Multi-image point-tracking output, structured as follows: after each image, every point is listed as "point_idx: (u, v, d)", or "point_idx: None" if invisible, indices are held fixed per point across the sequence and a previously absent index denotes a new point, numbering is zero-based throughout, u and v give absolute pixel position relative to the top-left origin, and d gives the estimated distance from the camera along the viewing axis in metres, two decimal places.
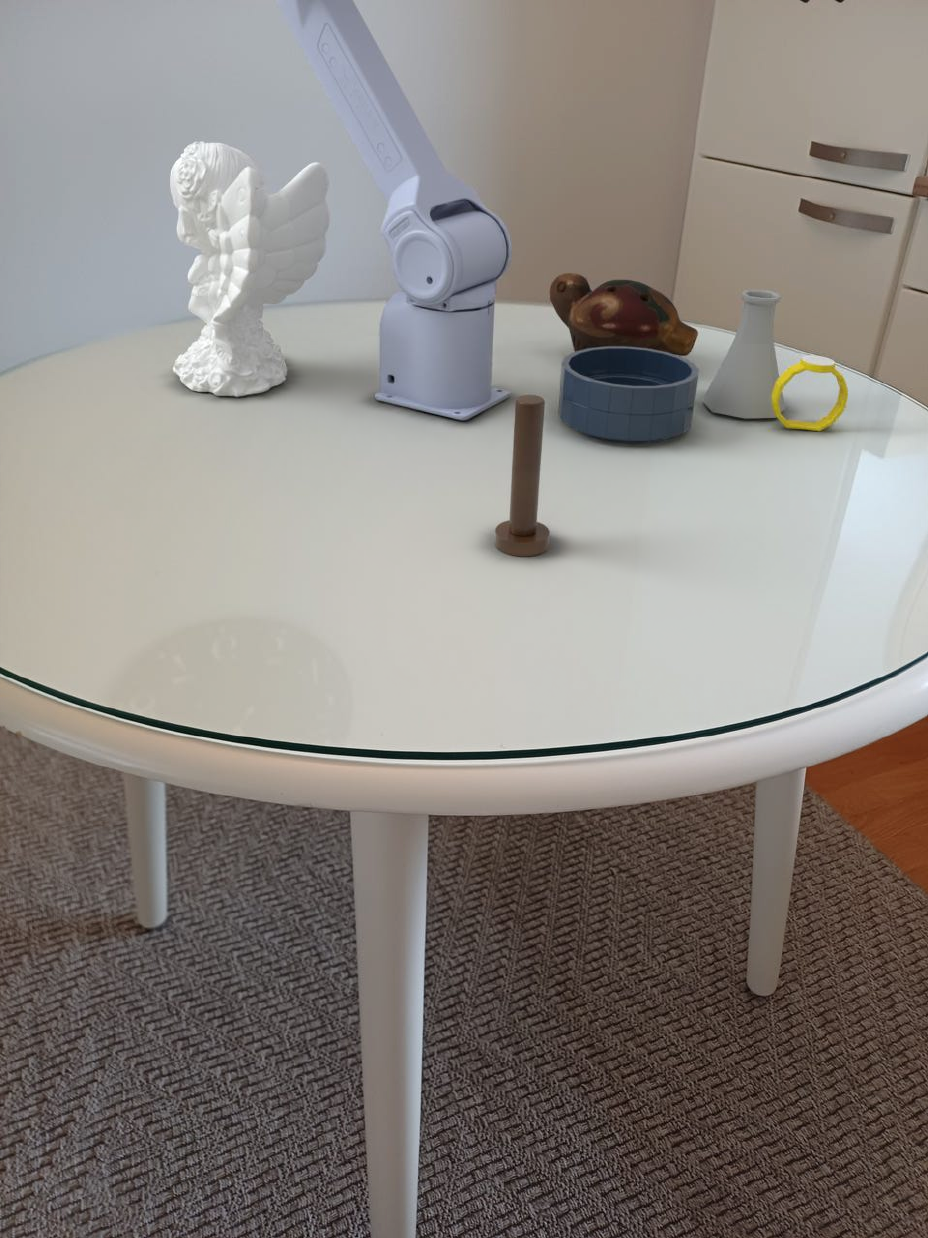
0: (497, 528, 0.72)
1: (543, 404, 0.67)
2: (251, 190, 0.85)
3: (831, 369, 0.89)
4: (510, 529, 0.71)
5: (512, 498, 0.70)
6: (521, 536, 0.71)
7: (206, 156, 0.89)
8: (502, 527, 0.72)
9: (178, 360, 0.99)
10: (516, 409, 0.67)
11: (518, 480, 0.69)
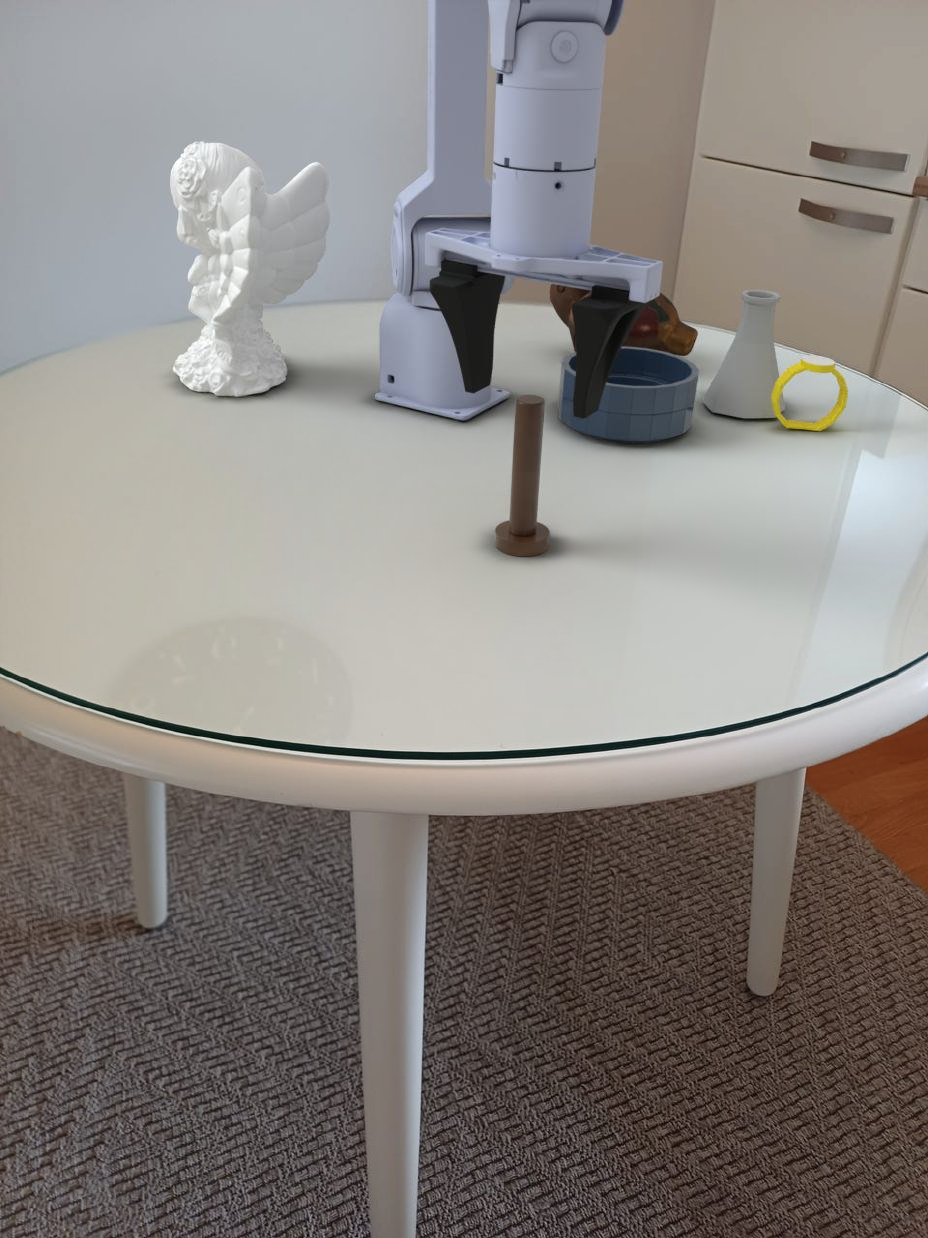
0: (497, 528, 0.72)
1: (543, 404, 0.67)
2: (251, 190, 0.85)
3: (831, 369, 0.89)
4: (510, 529, 0.71)
5: (512, 498, 0.70)
6: (521, 536, 0.71)
7: (206, 156, 0.89)
8: (502, 527, 0.72)
9: (178, 360, 0.99)
10: (516, 409, 0.67)
11: (518, 480, 0.69)
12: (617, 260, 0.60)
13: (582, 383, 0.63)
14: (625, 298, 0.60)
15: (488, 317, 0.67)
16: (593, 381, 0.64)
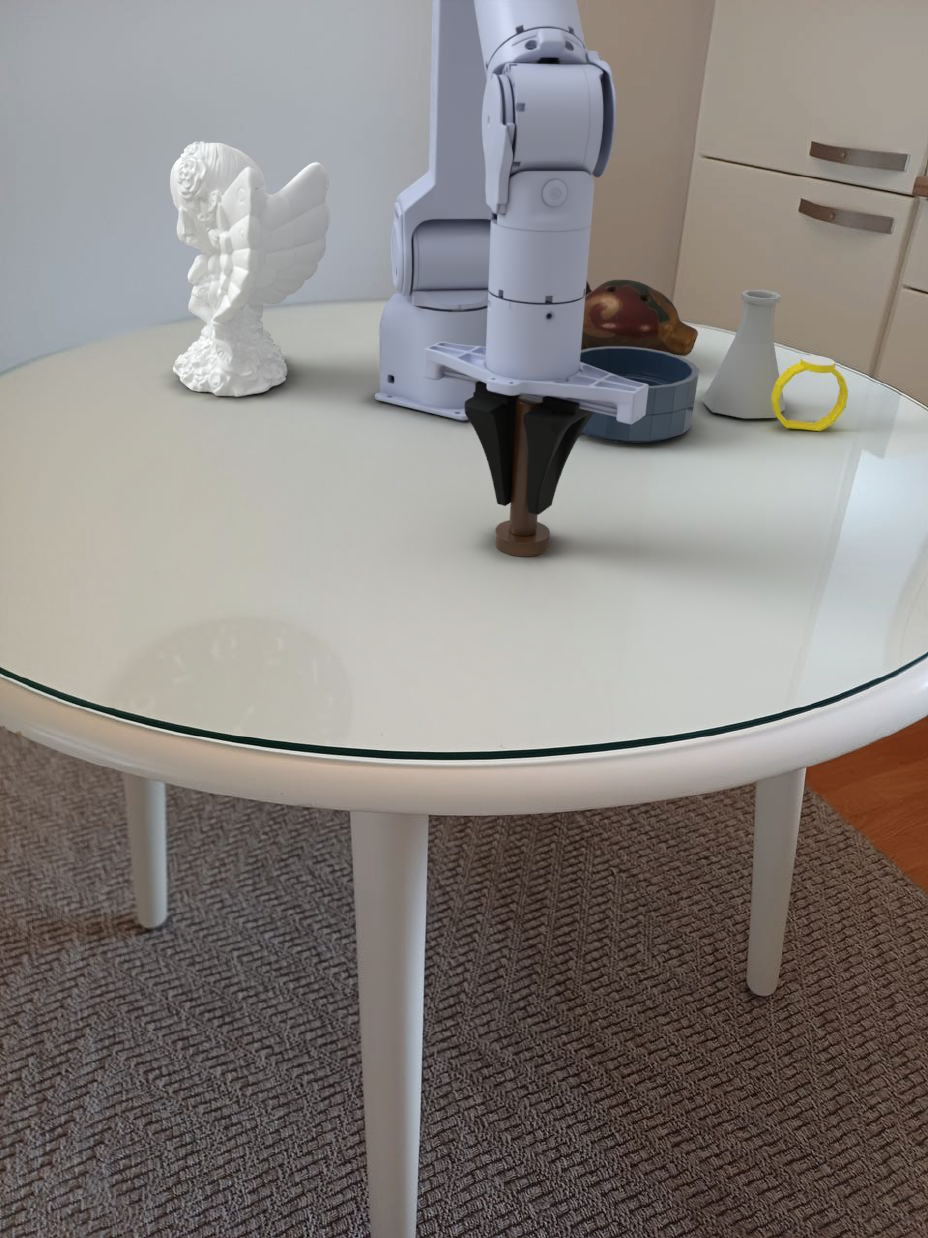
0: (497, 528, 0.72)
1: None
2: (251, 190, 0.85)
3: (831, 369, 0.89)
4: (510, 529, 0.71)
5: (512, 498, 0.70)
6: (521, 536, 0.71)
7: (206, 156, 0.89)
8: (502, 527, 0.72)
9: (178, 360, 0.99)
10: (516, 409, 0.67)
11: (518, 480, 0.69)
12: (605, 383, 0.64)
13: (535, 484, 0.68)
14: (572, 410, 0.65)
15: None
16: (546, 481, 0.68)
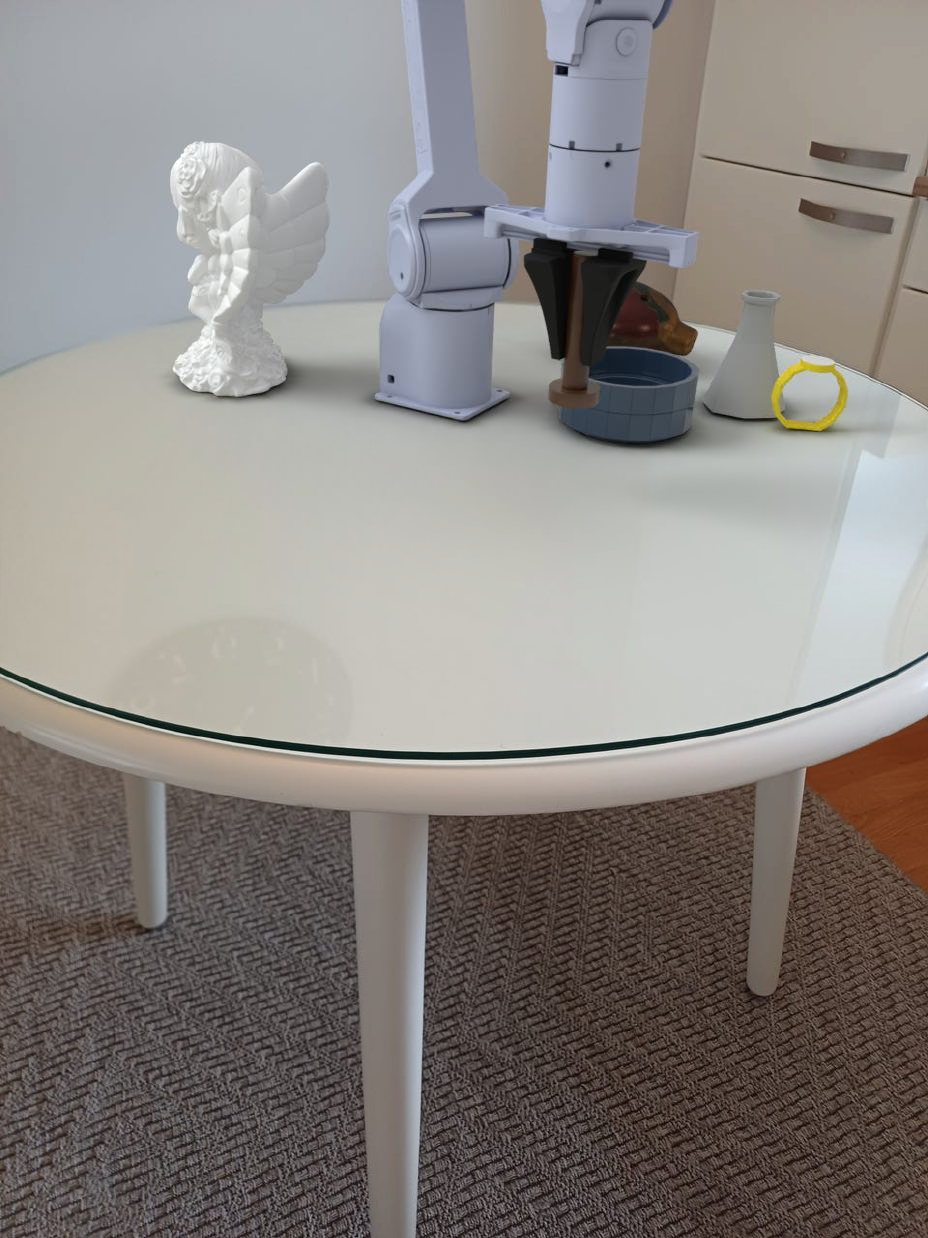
0: (551, 384, 0.76)
1: None
2: (251, 190, 0.85)
3: (831, 369, 0.89)
4: (563, 384, 0.75)
5: (566, 352, 0.74)
6: (574, 390, 0.75)
7: (206, 156, 0.89)
8: (555, 383, 0.76)
9: (178, 360, 0.99)
10: (572, 262, 0.71)
11: (573, 333, 0.73)
12: (658, 231, 0.68)
13: (589, 334, 0.72)
14: (627, 258, 0.69)
15: None
16: (599, 333, 0.73)
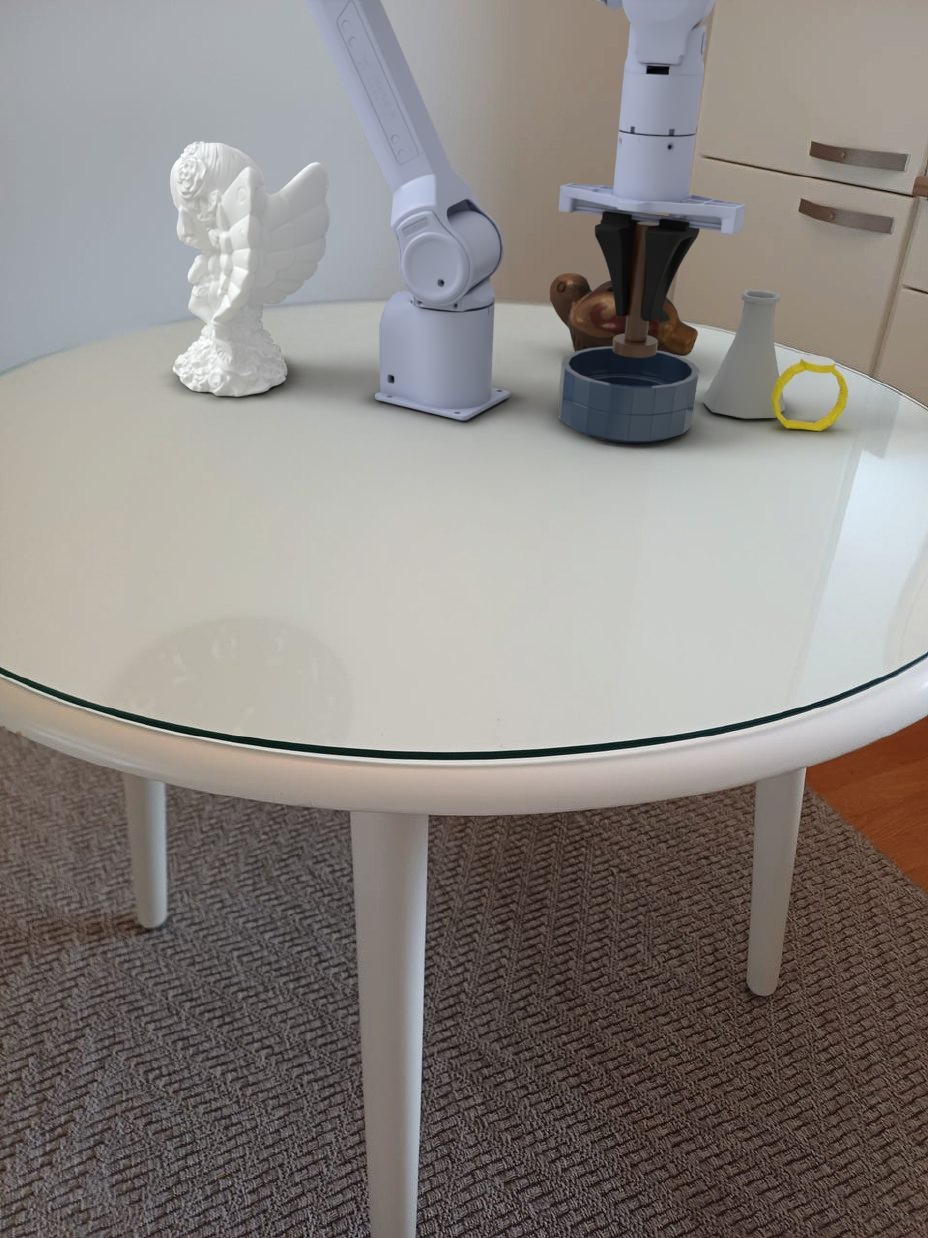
0: (615, 337, 0.88)
1: None
2: (251, 190, 0.85)
3: (831, 369, 0.89)
4: (626, 337, 0.88)
5: (629, 309, 0.87)
6: (635, 342, 0.87)
7: (206, 156, 0.89)
8: (618, 337, 0.89)
9: (178, 360, 0.99)
10: (636, 231, 0.84)
11: (635, 293, 0.86)
12: (711, 203, 0.80)
13: (650, 293, 0.84)
14: (684, 227, 0.81)
15: None
16: (658, 292, 0.85)
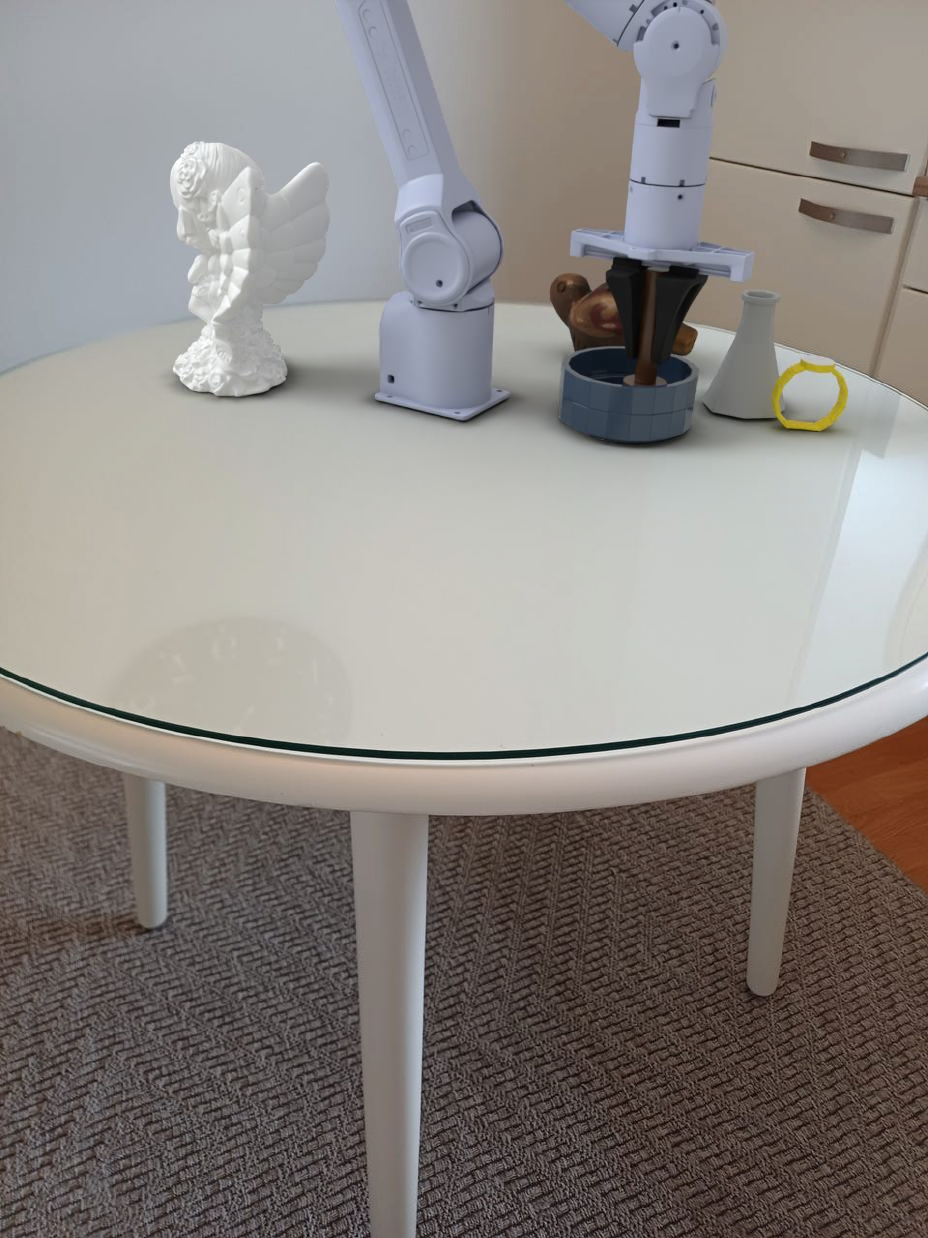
0: (624, 379, 0.90)
1: None
2: (251, 190, 0.85)
3: (831, 369, 0.89)
4: (636, 379, 0.89)
5: (639, 352, 0.88)
6: (645, 384, 0.89)
7: (206, 156, 0.89)
8: (628, 378, 0.90)
9: (178, 360, 0.99)
10: (646, 277, 0.85)
11: (645, 336, 0.87)
12: (721, 251, 0.82)
13: (660, 337, 0.86)
14: (694, 274, 0.83)
15: None
16: (667, 336, 0.86)
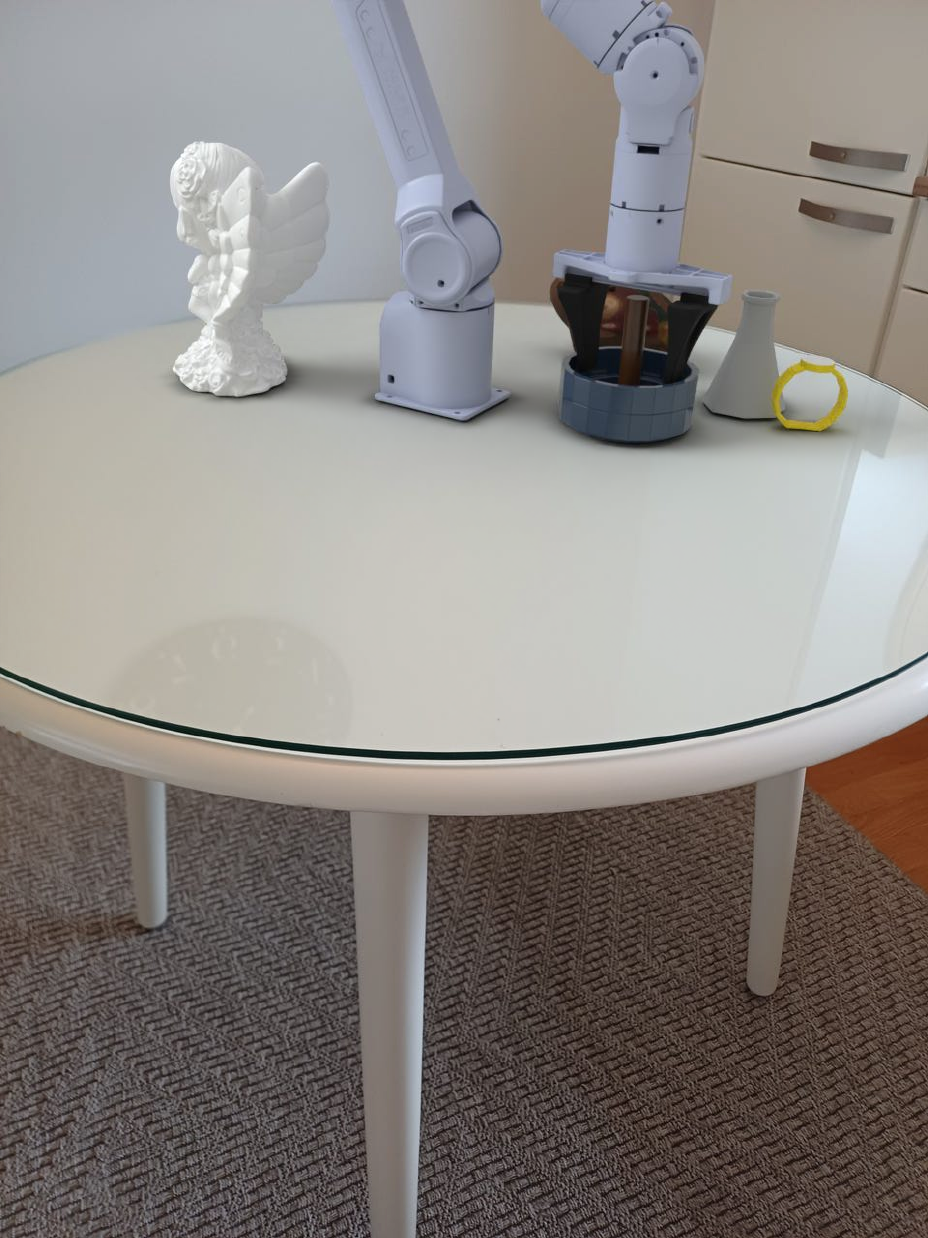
0: None
1: (648, 301, 0.87)
2: (251, 190, 0.85)
3: (831, 369, 0.89)
4: None
5: (620, 378, 0.90)
6: None
7: (206, 156, 0.89)
8: None
9: (178, 360, 0.99)
10: (627, 305, 0.87)
11: (626, 362, 0.89)
12: (699, 274, 0.83)
13: (671, 363, 0.86)
14: (705, 301, 0.83)
15: (597, 315, 0.90)
16: (678, 362, 0.87)
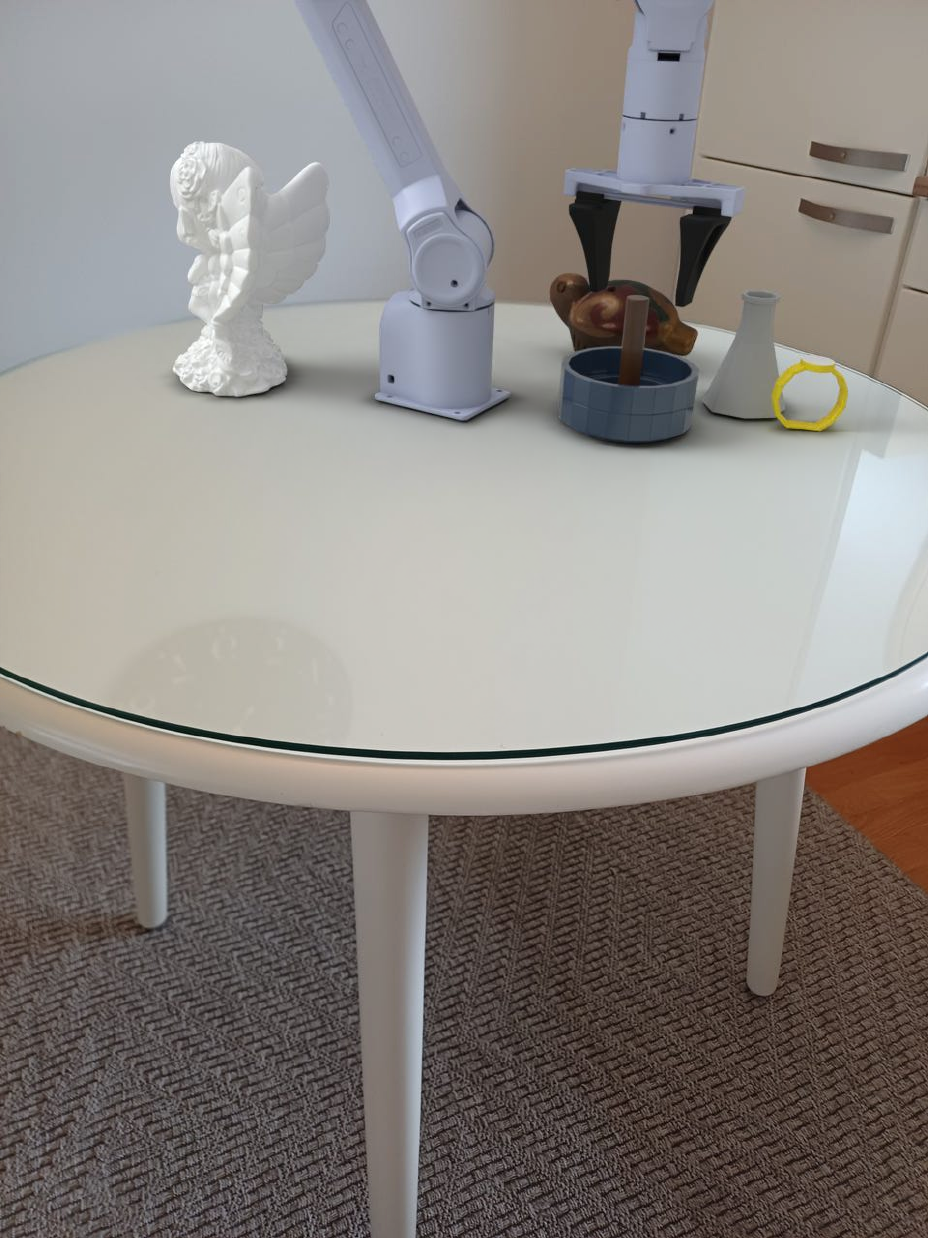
0: None
1: (648, 301, 0.87)
2: (251, 190, 0.85)
3: (831, 369, 0.89)
4: None
5: (620, 378, 0.90)
6: None
7: (206, 156, 0.89)
8: None
9: (178, 360, 0.99)
10: (627, 305, 0.87)
11: (626, 362, 0.89)
12: (712, 186, 0.83)
13: (683, 279, 0.86)
14: (718, 214, 0.83)
15: (608, 234, 0.90)
16: (690, 278, 0.87)
